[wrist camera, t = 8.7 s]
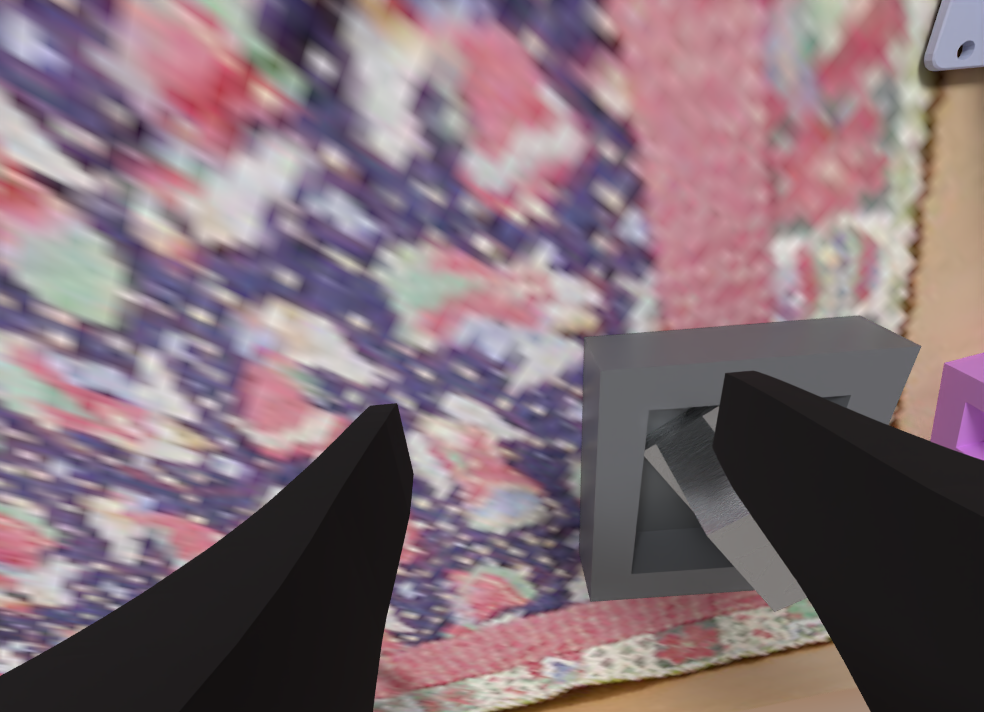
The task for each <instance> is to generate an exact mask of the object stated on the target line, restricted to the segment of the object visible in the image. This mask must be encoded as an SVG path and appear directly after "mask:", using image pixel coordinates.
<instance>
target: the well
mask: <svg viewBox="0 0 984 712" xmlns="http://www.w3.org/2000/svg"><path fill="white" fill-rule="evenodd" d="M920 348H921V346H920V345H918V344H916V343H914V342H912V341H910V340H908V339H906V338H904V337H902V336H900V335H898V334H896V333H894V332H892V331H890V330H888V329H886V328H884V327H882V326H880V325H878V324H876V323H874V322H872V321H870V320H868V319H866V318H864V317H862V316H849V317H836V318H823V319H811V320H798V321H785V322H772V323H759V324H747V325H734V326H721V327H708V328H696V329H683V330H670V331H657V332H645V333H632V334H619V335H606V336H594V337H584V368H583V411H582V453H581V496H580V538H579V554H580V558H581V563H582V567H583V571H584V576H585V580H586V584H587V589H588V593H589V597H590V602H592V601H607V600H621V599H636V598H650V597H665V596H679V595H694V594H708V593H723V592H737V591H751V590H755V589H754V588H753V587H752V586H751V585H750V584H749V583H748V581H747V580H746V579H745V578H744V577H743V576H742V575H741V574H740V572H739V571H738V570H737V569H736V568H735V567H734V566H733V565H732V563H731V562H730V561H729V560H728V559H727V558H726V557H725V556H724V554H723V553H722V552H721V551H720V550H719V549H718V548H717V547H716V545H715V544H714V543H713V542H712V541H711V540H710V539H709V538H708V536H707V535H706V533H705V531H704V530H703V528H702V526H701V524H700V522H699V521H698V519H697V517H696V515H695V513H694V512H693V511H692V510H691V509H690V508H689V506H688V505H687V504H686V503H685V502H684V501H683V500H682V498H681V497H680V496H679V495H678V494H677V493H676V492H675V491H674V489H673V488H672V487H671V486H670V485H669V484H668V483H667V481H666V480H665V479H664V478H663V477H662V476H661V475H660V473H659V472H658V471H657V470H656V469H655V468H654V467H653V465H652V464H651V463H650V462H649V461H648V460H647V459H646V458H645V456H644V452H645V442H646V436H647V435H648V434H650V433H651V432H653V431H655V430H656V429H658V428H660V427H661V426H663V425H665V424H666V423H668V422H669V421H671V420H673V419H674V418H676V417H678V416H679V415H681V414H683V413H684V412H686V411H687V410H689V409H691V408H692V407H701V406H714V405H718V406H719V405H720V400H721V394H722V388H723V383H724V377H725V373H731V372H742V371H753V370H754V371H757V372H760V373H763V374H766V375H769V376H772V377H774V378H777V379H779V380H782V381H784V382H787V383H789V384H792V385H794V386H796V387H799V388H801V389H803V390H806V391H808V392H810V393H813V394H815V395H817V396H820V397H822V398H824V399H827V400H829V401H831V402H834V403H836V404H838V405H841V406H843V407H845V408H848V409H850V410H853V411H855V412H857V413H860V414H862V415H865V416H867V417H869V418H872V419H874V420H877V421H879V422H882V423H884V424H887V425H888V424H889V422H890V419H891V417H892V415H893V412H894V410H895V407H896V405H897V403H898V400H899V398H900V396H901V393H902V391H903V388H904V386H905V384H906V381H907V379H908V377H909V374H910V372H911V369H912V367H913V365H914V362H915V360H916V358H917V355H918V353H919V350H920Z"/></svg>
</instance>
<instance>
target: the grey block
mask: <svg viewBox="0 0 984 712" xmlns="http://www.w3.org/2000/svg"><path fill="white" fill-rule="evenodd" d="M718 411H719V406H718V405H714V406H701V407H692V408H691V409H689V410H687V411H686V412H684V413H683V414H681V415H679V416H678V417H676V418H674V419H673V420H671V421H669V422H668V423H666V424H665V425H663V426H661V427H660V428H658V429H656V430H655V431H653V432H651V433H650V434H648V435H647V436H646V442H645V452H644V456H645V458H646V459H647V460H648V461H649V462H650V463H651V464H652V465H653V467H654V468H655V469H656V470H657V471H658V472H659V473H660V475H661V476H662V477H663V478H664V479H665V480H666V481H667V483H668V484H669V485H670V486H671V487H672V488H673V489H674V491H675V492H676V493H677V494H678V495H679V496H680V497H681V498H682V500H683V501H684V502H685V503H686V504H687V505H688V506H689V508H690V509H691V510H692V511H693V512H694V513H695V515H696V517H697V519H698V521H699V522H700V524H701V526H702V528H703V530H704V531H705V533H706V535H707V536H708V538H709V539H710V540H711V541H712V542H713V543H714V544H715V545H716V547H717V548H718V549H719V550H720V551H721V552H722V553H723V554H724V556H725V557H726V558H727V559H728V560H729V561H730V562H731V563H732V565H733V566H734V567H735V568H736V569H737V570H738V571H739V572H740V574H741V575H742V576H743V577H744V578H745V579H746V580H747V581H748V583H749V584H750V585H751V586H752V587H753V588H754V589H755V590H756V592H757V593H758V594H759V595H760V596H761V597H762V598H763V599H764V601H765V602H766V603H767V604H768V605H769V606H770V607H771V608H772V609H773V611H774V612H776V611H778V610H780V609H782V608H785V607H787V606H789V605H792V604H794V603H796V602H798V601H801V600H803V599H805V598H807V596H806V595H805V593H804V592H803V590H802V588H801V587H800V585H799V584H798V582H797V581H796V579H795V578H794V577H793V575H792V574H791V572H790V571H789V569H788V568H787V566H786V565H785V564H784V562H783V561H782V559H781V558H780V556H779V555H778V554H777V552H776V551H775V549H774V548H773V546H772V545H771V543H770V542H769V541H768V539H767V538H766V536H765V535H764V533H763V532H762V531H761V529H760V528H759V526H758V525H757V523H756V522H755V520H754V519H753V518H752V516H751V515H750V513H749V512H748V510H747V509H746V507H745V506H744V504H743V503H742V501H741V500H740V498H739V497H738V495H737V494H736V492H735V491H734V489H733V488H732V486H731V484H730V482H729V480H728V479H727V477H726V475H725V473H724V471H723V469H722V467H721V465H720V463H719V461H718V459H717V457H716V454H715V452H714V450H713V448H712V445H713V440H714V434H715V428H716V422H717V417H718Z"/></svg>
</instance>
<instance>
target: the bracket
mask: <svg viewBox="0 0 984 712" xmlns="http://www.w3.org/2000/svg"><path fill="white" fill-rule="evenodd" d="M930 442H933V443H936V444H938V445H941V446H944V447H946V448H949V449H952V450H955V451H958V452H961V453H963V454H966V455H969V456H972V457H975V458H978V459H981V460H984V353H980V354H976V355H973V356H969V357H965V358H961V359H957V360H954V361H950V362H946V363H944V368H943V373H942V379H941V384H940V390H939V396H938V401H937V407H936V412H935V418H934V424H933V429H932V435H931V440H930Z"/></svg>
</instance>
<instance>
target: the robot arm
mask: <svg viewBox="0 0 984 712" xmlns="http://www.w3.org/2000/svg"><path fill="white" fill-rule="evenodd" d="M961 45H962V46H963V51H962V53H961V55H960V57H957V51H958V49H959V47H960V46H961ZM924 64H925V67H926V68H927V69H928V70H930V71H943V70H954V69H966V68H977V67H984V0H942V2H941V5H940V9H939V12H938V15H937V18H936V21H935V24H934V27H933V31H932V34H931V37H930V40H929V43H928V46H927V50H926V53H925V57H924ZM712 448H713V450H714V452H715V454H716V457H717V459H718V461H719V463H720V465H721V467H722V469H723V471H724V473H725V475H726V477H727V479H728V480H729V482H730V484H731V486H732V488H733V489H734V491H735V492H736V494H737V495H738V497H739V498H740V500H741V501H742V503H743V504H744V506H745V507H746V509H747V510H748V512H749V513H750V515H751V516H752V518H753V519H754V520H755V522H756V523H757V525H758V526H759V528H760V529H761V531H762V532H763V533H764V535H765V536H766V538H767V539H768V541H769V542H770V543H771V545H772V546H773V548H774V549H775V551H776V552H777V554H778V555H779V556H780V558H781V559H782V561H783V562H784V564H785V565H786V566H787V568H788V569H789V571H790V572H791V574H792V575H793V577H794V578H795V579H796V581H797V582H798V584H799V585H800V587H801V588H802V590H803V592H804V593H805V595H806V596H807V598H808V599H809V601H810V603H811V604H812V606H813V607H814V609H815V611H816V613H817V614H818V616H819V618H820V620H821V621H822V623H823V625H824V627H825V628H826V630H827V632H828V634H829V636H830V637H831V639H832V641H833V643H834V644H835V646H836V648H837V650H838V651H839V653H840V655H841V657H842V659H843V660H844V662H845V664H846V666H847V668H848V670H849V672H850V673H851V675H852V677H853V679H854V681H855V683H856V685H857V687H858V689H859V690H860V692H861V694H862V696H863V698H864V700H865V702H866V704H867V705H868V707H869V709H870V711H871V712H984V460H981V459H978V458H975V457H972V456H969V455H966V454H963V453H961V452H958V451H955V450H952V449H949V448H946V447H944V446H941V445H938V444H936V443H933V442H930V441H928V440H925V439H923V438H920V437H917V436H915V435H912V434H910V433H907V432H904V431H902V430H899V429H896V428H894V427H892V426H889V425H887V424H884V423H882V422H879V421H877V420H874V419H872V418H869V417H867V416H865V415H862V414H860V413H857V412H855V411H853V410H850V409H848V408H845V407H843V406H841V405H838V404H836V403H834V402H831V401H829V400H827V399H824V398H822V397H820V396H817V395H815V394H813V393H810V392H808V391H806V390H803V389H801V388H799V387H796V386H794V385H792V384H789V383H787V382H784V381H782V380H779V379H777V378H774V377H772V376H769V375H766V374H763V373H760V372H757V371H754V370H753V371H742V372H731V373H725V377H724V383H723V388H722V394H721V400H720V405H719V411H718V417H717V422H716V428H715V434H714V440H713V445H712ZM413 475H414V474H413V469H412V465H411V461H410V456H409V452H408V448H407V443H406V439H405V435H404V431H403V426H402V422H401V418H400V413H399V409H398V405H397V403H395V404H384V405H374V406H369V407H368V408H367V409H366V410H365V411H364V412H363V413H362V414H361V415H360V416H359V417H358V418H357V419H356V420H355V421H354V422H353V423H352V424H351V425H350V426H349V427H348V428H347V429H346V430H345V431H344V432H343V433H342V434H341V435H340V436H339V437H338V438H337V439H336V440H335V441H334V442H333V443H332V444H331V445H330V446H329V447H328V448H327V449H326V450H325V451H324V452H323V453H322V454H321V455H320V456H319V457H318V458H317V459H316V460H314V461H313V462H312V463H311V464H310V465H309V466H308V467H307V468H306V469H305V470H304V471H303V472H301V473H300V474H299V475H298V476H297V477H296V478H295V479H294V480H293V481H291V482H290V483H289V484H288V485H287V486H286V487H285V488H284V489H283V490H281V491H280V492H279V493H278V494H277V495H276V496H275V497H274V498H273V499H271V500H270V501H269V502H268V503H267V504H265V505H264V506H263V507H262V508H261V509H259V510H258V511H257V512H256V513H254V514H253V515H252V516H251V517H249V518H248V519H247V520H246V521H244V522H243V523H242V524H240V525H239V526H238V527H237V528H235V529H234V530H233V531H231V532H230V533H229V534H227V535H226V536H225V537H223V538H222V539H221V540H219V541H218V542H217V543H215V544H214V545H213V546H211V547H210V548H209V549H207V550H206V551H204V552H203V553H201V554H200V555H198V556H197V557H195V558H194V559H192V560H191V561H189V562H188V563H187V564H185V565H184V566H182V567H181V568H179V569H178V570H176V571H175V572H173V573H172V574H170V575H169V576H167V577H166V578H164V579H163V580H162V581H160V582H159V583H157V584H156V585H154V586H153V587H151V588H150V589H148V590H147V591H145V592H144V593H142V594H140V595H139V596H137V597H136V598H134V599H132V600H131V601H129V602H128V603H126V604H124V605H123V606H121V607H119V608H118V609H116V610H115V611H113V612H111V613H110V614H108V615H107V616H105V617H103V618H102V619H100V620H98V621H97V622H95V623H93V624H91V625H90V626H88V627H86V628H85V629H83V630H81V631H80V632H78V633H76V634H75V635H73V636H71V637H69V638H68V639H66V640H64V641H63V642H61V643H59V644H57V645H56V646H54V647H52V648H50V649H49V650H47V651H45V652H43V653H42V654H40V655H38V656H36V657H35V658H33V659H31V660H29V661H27V662H25V663H23V664H22V665H20V666H18V667H16V668H14V669H12V670H10V671H9V672H7V673H5V674H3V675H1V676H0V712H373V706H374V698H375V690H376V682H377V675H378V667H379V660H380V652H381V645H382V639H383V633H384V628H385V623H386V617H387V613H388V608H389V604H390V600H391V595H392V591H393V587H394V582H395V578H396V574H397V569H398V565H399V561H400V556H401V552H402V547H403V543H404V539H405V534H406V530H407V525H408V520H409V516H410V507H411V497H412V486H413Z"/></svg>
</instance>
